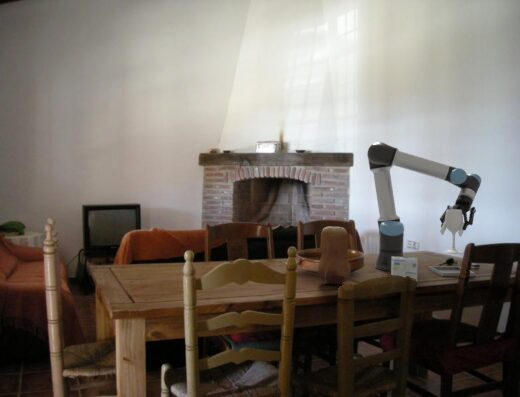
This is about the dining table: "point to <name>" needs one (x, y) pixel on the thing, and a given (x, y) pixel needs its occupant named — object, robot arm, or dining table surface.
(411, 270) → the light bulb box
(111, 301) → the dining table surface
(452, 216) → the wineglass
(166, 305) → the dining table surface
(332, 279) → the butternut squash
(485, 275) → the dining table surface
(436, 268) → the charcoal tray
